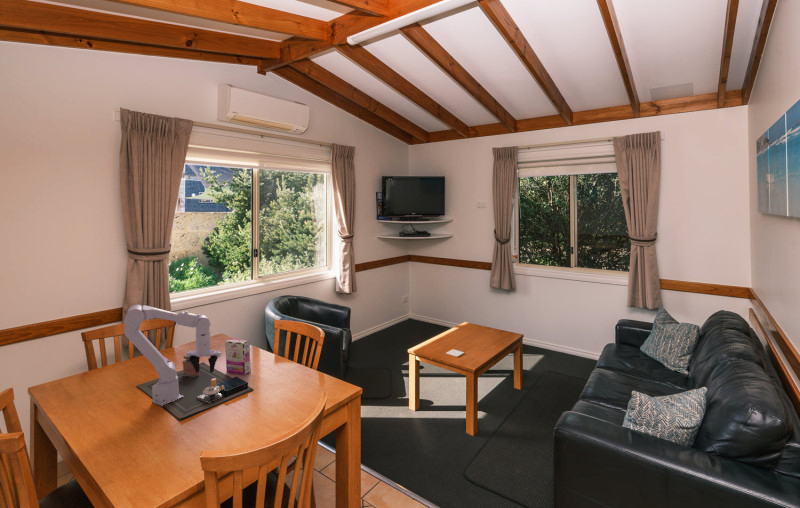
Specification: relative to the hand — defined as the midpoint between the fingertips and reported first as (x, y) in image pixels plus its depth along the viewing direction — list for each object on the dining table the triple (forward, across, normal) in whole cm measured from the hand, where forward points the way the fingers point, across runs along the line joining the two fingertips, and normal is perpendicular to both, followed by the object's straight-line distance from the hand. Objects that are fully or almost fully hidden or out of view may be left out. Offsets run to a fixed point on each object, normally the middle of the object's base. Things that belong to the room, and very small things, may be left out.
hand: (204, 371), depth 180 cm
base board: (+9, +5, -5) cm, 12 cm away
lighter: (+10, -15, +17) cm, 25 cm away
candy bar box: (+10, +7, +21) cm, 24 cm away
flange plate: (+7, +5, -5) cm, 10 cm away
